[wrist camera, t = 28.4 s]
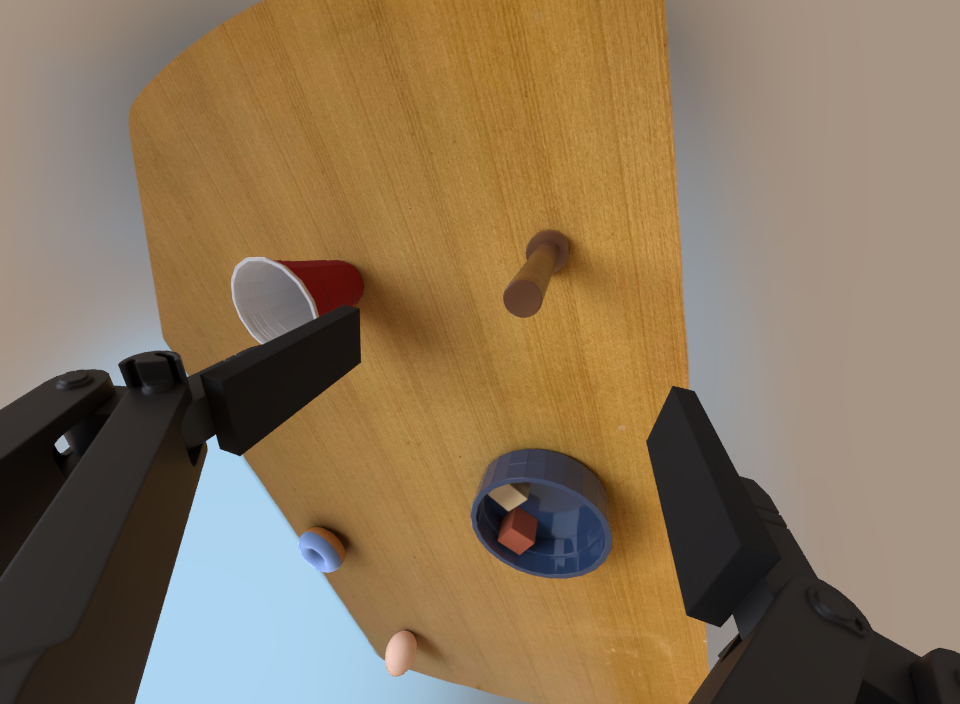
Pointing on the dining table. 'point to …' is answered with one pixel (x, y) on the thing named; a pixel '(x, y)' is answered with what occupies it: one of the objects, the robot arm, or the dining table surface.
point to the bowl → (547, 514)
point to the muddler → (536, 273)
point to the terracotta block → (518, 530)
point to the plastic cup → (290, 293)
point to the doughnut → (321, 549)
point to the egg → (400, 653)
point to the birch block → (511, 494)
